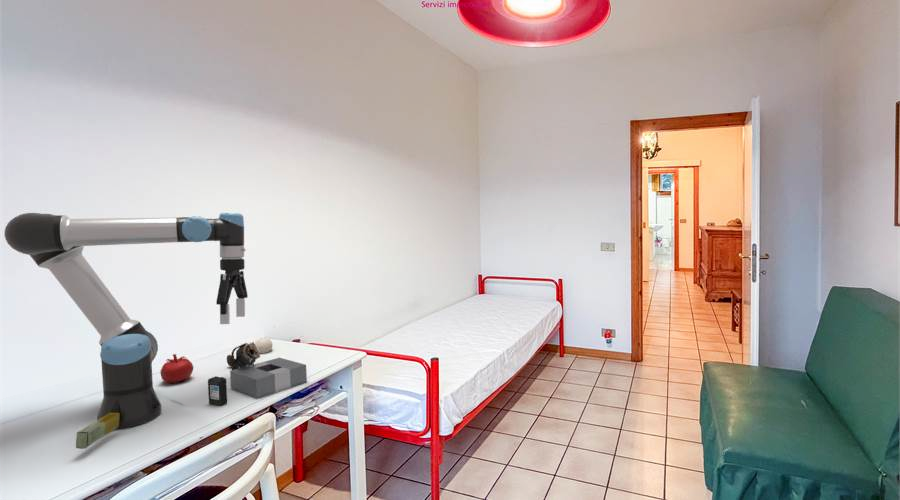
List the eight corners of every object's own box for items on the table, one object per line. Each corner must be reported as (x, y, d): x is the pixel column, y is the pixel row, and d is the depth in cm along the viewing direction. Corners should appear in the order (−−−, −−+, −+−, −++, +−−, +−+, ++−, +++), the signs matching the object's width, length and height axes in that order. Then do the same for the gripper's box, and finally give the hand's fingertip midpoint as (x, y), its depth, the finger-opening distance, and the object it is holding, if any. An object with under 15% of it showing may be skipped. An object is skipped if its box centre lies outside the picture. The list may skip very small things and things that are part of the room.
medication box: (86, 449, 110) (87, 433, 109) (74, 448, 109) (75, 432, 109) (119, 426, 122) (120, 412, 121) (109, 426, 121) (109, 411, 121)
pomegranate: (199, 377, 162) (198, 351, 162) (171, 386, 153) (170, 359, 153) (182, 373, 167) (181, 348, 166) (154, 382, 158) (153, 356, 158)
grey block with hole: (257, 398, 140) (256, 379, 139) (231, 388, 149) (230, 370, 149) (306, 382, 154) (306, 364, 154) (280, 373, 164) (279, 357, 163)
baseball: (251, 354, 191) (250, 338, 191) (267, 350, 197) (267, 335, 196) (259, 357, 187) (258, 341, 186) (275, 353, 192) (274, 337, 192)
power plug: (235, 373, 163) (248, 347, 160) (250, 386, 161) (263, 359, 158) (223, 378, 158) (236, 351, 155) (237, 391, 156) (251, 364, 153)
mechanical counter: (253, 371, 167) (252, 345, 166) (219, 372, 167) (217, 345, 166) (262, 366, 174) (260, 340, 173) (229, 366, 174) (228, 341, 174)
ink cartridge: (208, 404, 136) (207, 378, 135) (215, 401, 138) (213, 376, 138) (221, 406, 134) (219, 379, 134) (227, 403, 136) (226, 377, 136)
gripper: (228, 260, 142) (229, 327, 143) (256, 256, 167) (256, 313, 167) (204, 260, 141) (205, 327, 142) (235, 256, 166) (236, 313, 167)
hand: (233, 320), depth 155 cm, fingers open, 13 cm apart
